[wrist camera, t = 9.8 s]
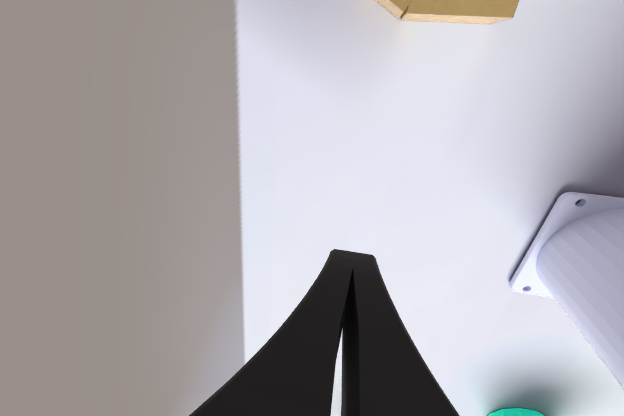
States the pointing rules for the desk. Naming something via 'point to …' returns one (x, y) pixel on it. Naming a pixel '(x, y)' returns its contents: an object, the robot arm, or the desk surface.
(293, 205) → the desk surface
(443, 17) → the wide wooden arch
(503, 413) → the candle
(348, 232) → the desk surface
